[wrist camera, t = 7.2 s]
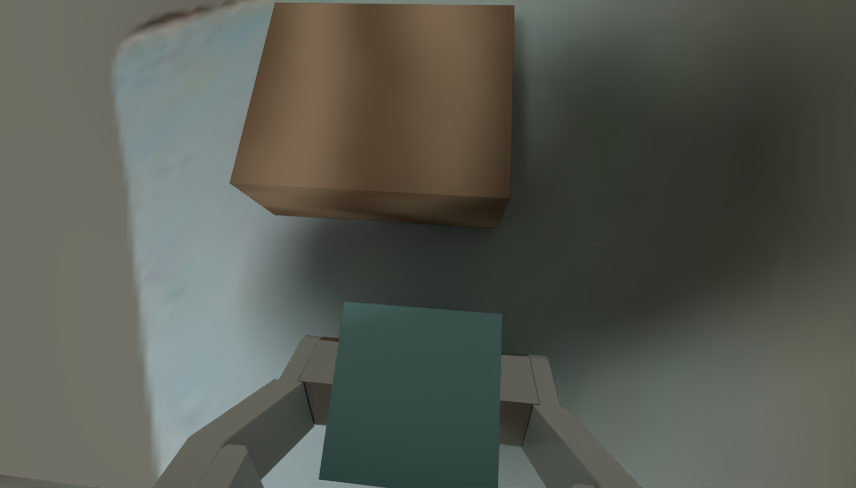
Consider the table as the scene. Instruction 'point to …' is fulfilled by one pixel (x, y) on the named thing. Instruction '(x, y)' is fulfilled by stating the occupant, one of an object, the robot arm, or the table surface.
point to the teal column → (415, 398)
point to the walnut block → (382, 114)
